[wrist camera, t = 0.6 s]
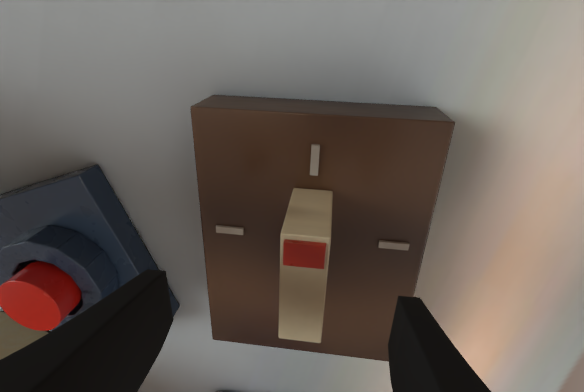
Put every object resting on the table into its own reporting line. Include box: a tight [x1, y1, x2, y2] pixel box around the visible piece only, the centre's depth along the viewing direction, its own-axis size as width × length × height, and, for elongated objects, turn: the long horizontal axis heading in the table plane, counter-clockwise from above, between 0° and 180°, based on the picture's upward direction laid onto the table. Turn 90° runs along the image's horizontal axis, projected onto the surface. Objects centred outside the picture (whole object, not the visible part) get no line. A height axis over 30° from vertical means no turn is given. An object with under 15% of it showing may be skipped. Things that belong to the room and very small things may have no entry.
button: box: [0, 261, 81, 331], centre depth 20 cm, size 4×4×2 cm
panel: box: [191, 95, 455, 361], centre depth 19 cm, size 14×11×3 cm
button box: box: [0, 165, 179, 330], centre depth 22 cm, size 11×9×4 cm
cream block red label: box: [278, 188, 333, 343], centre depth 15 cm, size 5×2×4 cm, turn 178°
